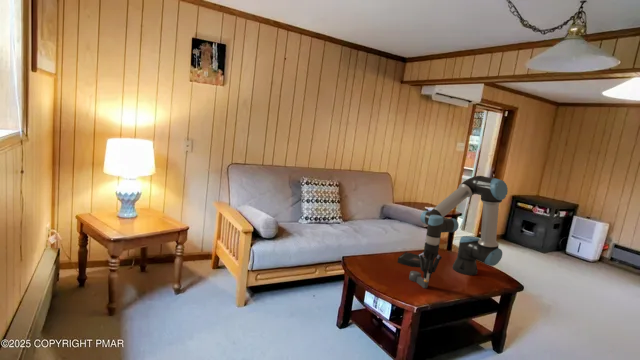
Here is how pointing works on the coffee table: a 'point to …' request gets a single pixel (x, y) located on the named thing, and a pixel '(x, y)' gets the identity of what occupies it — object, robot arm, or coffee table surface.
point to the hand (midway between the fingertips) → (425, 283)
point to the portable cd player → (410, 259)
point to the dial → (418, 279)
